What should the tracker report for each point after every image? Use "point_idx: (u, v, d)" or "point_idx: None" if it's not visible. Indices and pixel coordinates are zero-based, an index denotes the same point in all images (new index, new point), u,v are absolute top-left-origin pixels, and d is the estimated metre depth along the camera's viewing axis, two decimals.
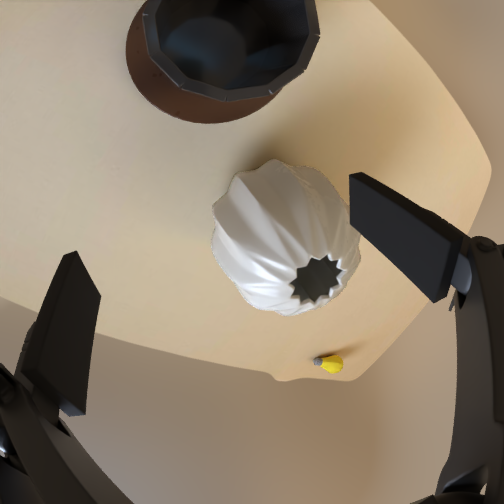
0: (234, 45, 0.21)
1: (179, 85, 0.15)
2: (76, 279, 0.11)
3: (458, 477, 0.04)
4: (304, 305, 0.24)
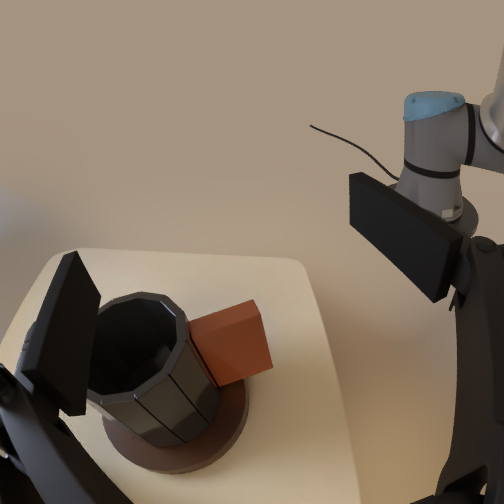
0: None
1: None
2: (76, 279, 0.11)
3: (458, 477, 0.04)
4: None
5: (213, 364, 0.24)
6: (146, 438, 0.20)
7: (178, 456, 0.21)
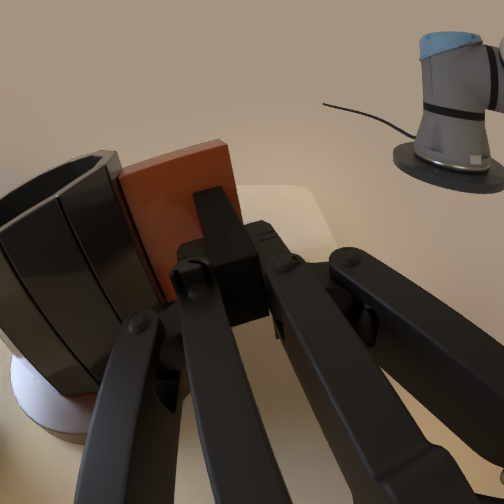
0: None
1: None
2: None
3: None
4: None
5: (154, 245, 0.15)
6: (37, 366, 0.11)
7: (82, 411, 0.12)
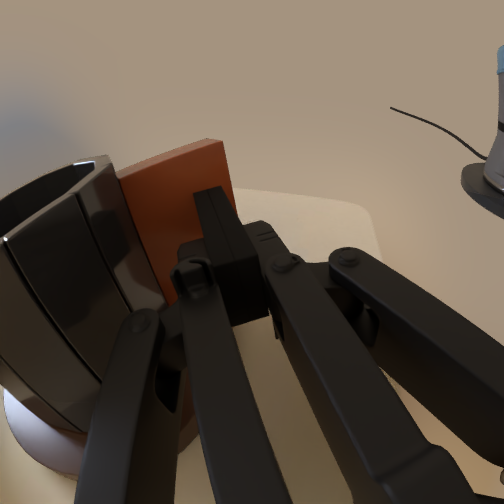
0: None
1: None
2: None
3: None
4: None
5: (156, 249, 0.14)
6: (54, 404, 0.09)
7: (60, 448, 0.10)
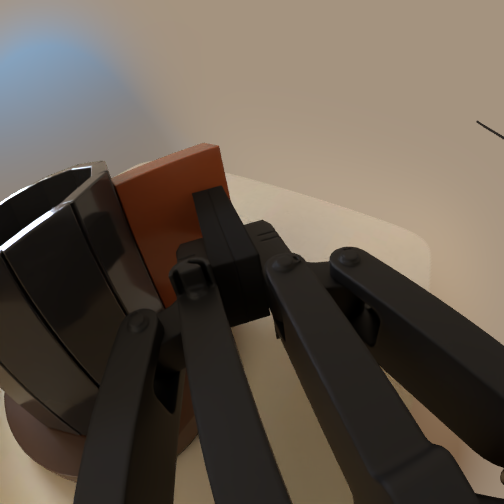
0: None
1: None
2: None
3: None
4: None
5: (153, 255, 0.14)
6: (53, 408, 0.09)
7: (38, 438, 0.10)
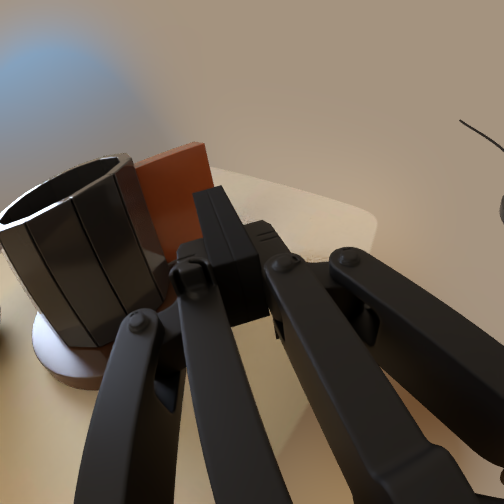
0: None
1: (1, 212, 0.16)
2: None
3: None
4: None
5: (158, 217, 0.21)
6: (82, 317, 0.15)
7: (61, 357, 0.16)
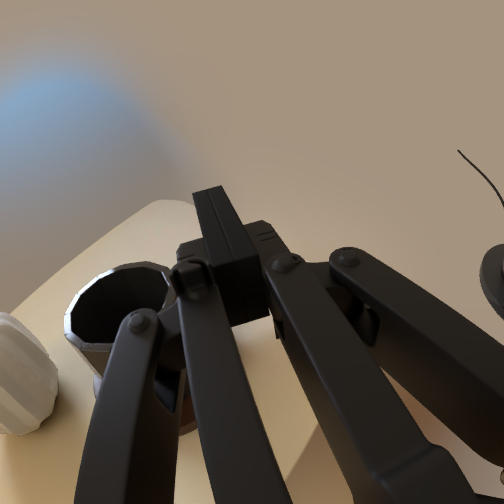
0: None
1: (65, 313, 0.22)
2: None
3: None
4: None
5: None
6: None
7: None
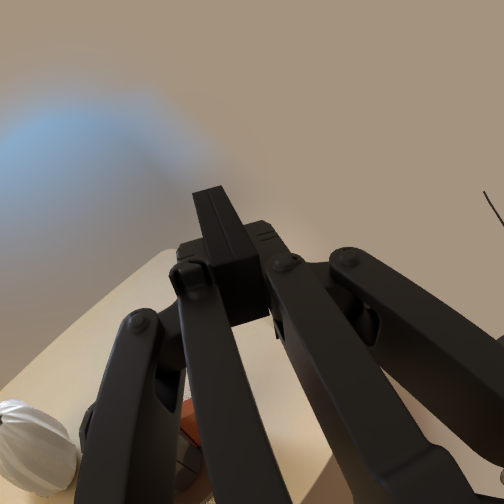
0: None
1: (79, 429, 0.23)
2: None
3: None
4: None
5: (192, 433, 0.28)
6: None
7: None
